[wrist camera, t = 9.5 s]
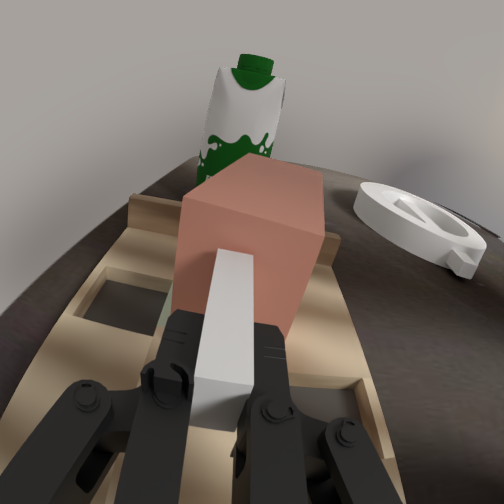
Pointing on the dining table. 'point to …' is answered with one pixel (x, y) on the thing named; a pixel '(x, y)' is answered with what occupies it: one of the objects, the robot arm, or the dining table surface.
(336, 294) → the board
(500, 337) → the dining table surface
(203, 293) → the brick
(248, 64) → the milk carton
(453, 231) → the ring with crossbar
